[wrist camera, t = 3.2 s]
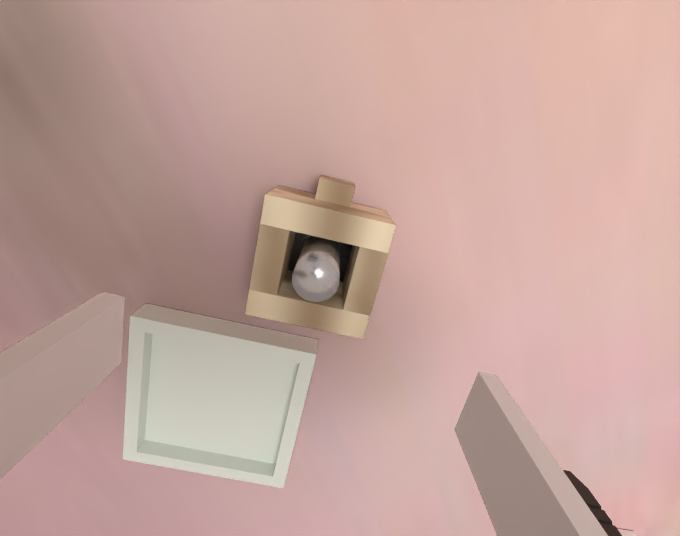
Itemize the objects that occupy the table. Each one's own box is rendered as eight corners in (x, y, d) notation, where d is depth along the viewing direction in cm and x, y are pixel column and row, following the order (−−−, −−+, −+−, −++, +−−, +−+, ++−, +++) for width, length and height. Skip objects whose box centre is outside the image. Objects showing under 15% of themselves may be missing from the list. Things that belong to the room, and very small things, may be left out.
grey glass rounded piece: (272, 275, 29) (248, 319, 22) (287, 191, 27) (266, 208, 20) (354, 293, 30) (358, 343, 22) (376, 212, 28) (389, 237, 20)
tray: (136, 439, 35) (122, 459, 33) (146, 303, 30) (130, 315, 28) (287, 466, 36) (283, 488, 34) (318, 339, 31) (316, 354, 29)
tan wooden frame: (261, 286, 28) (244, 314, 23) (282, 165, 25) (269, 170, 20) (359, 307, 29) (362, 339, 24) (391, 192, 26) (403, 202, 21)
